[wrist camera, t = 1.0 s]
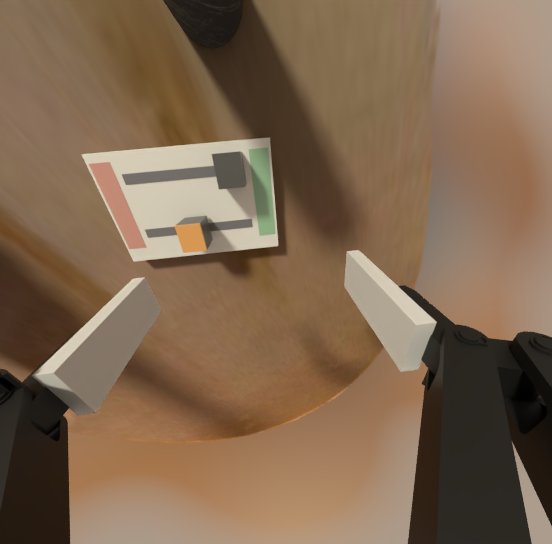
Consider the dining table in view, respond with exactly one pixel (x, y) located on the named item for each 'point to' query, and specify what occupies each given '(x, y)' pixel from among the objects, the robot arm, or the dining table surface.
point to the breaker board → (189, 195)
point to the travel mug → (207, 19)
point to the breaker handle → (194, 234)
